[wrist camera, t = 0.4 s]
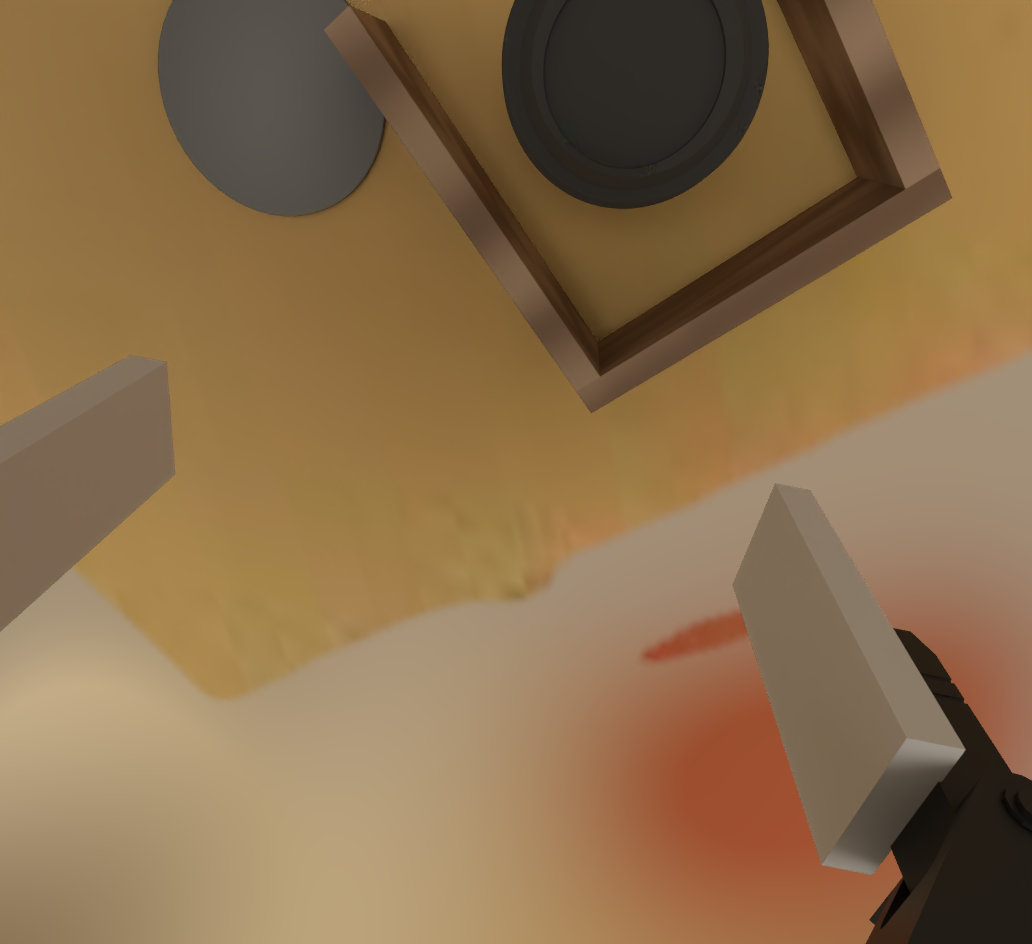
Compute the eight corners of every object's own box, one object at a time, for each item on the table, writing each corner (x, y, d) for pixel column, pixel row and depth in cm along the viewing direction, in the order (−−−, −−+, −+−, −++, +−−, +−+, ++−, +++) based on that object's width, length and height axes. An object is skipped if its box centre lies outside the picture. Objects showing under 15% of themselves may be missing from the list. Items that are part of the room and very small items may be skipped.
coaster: (118, 65, 36) (111, 64, 36) (274, -107, 32) (269, -111, 32) (275, 256, 40) (271, 258, 40) (431, 125, 36) (429, 125, 36)
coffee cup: (559, -54, 32) (543, -169, 19) (738, 10, 33) (843, -59, 19) (506, 148, 36) (463, 169, 23) (665, 201, 37) (710, 252, 24)
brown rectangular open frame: (363, 42, 35) (324, 29, 29) (698, -273, 28) (725, -360, 23) (590, 375, 42) (591, 413, 37) (897, 185, 36) (952, 197, 30)
